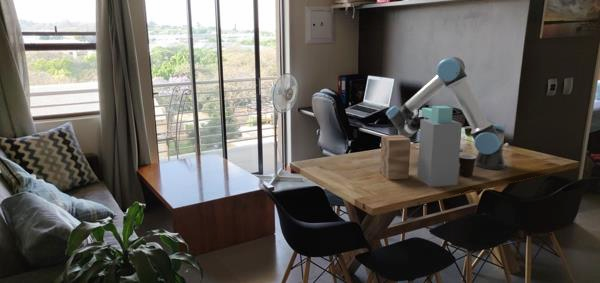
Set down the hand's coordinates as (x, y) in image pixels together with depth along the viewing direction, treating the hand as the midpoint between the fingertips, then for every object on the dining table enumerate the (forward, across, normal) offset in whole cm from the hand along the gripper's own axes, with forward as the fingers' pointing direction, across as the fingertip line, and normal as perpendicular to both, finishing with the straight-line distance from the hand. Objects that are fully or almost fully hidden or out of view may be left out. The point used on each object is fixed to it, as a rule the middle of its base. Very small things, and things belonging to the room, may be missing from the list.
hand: (429, 110), depth 223 cm
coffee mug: (-14, -20, -31) cm, 39 cm away
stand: (-7, 0, -35) cm, 35 cm away
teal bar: (+3, 0, -6) cm, 6 cm away
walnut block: (-18, +17, -28) cm, 37 cm away
